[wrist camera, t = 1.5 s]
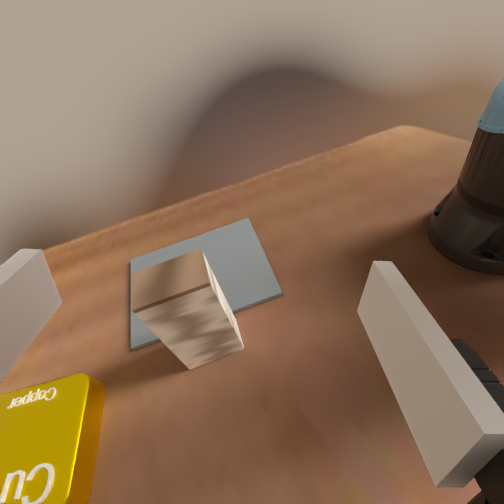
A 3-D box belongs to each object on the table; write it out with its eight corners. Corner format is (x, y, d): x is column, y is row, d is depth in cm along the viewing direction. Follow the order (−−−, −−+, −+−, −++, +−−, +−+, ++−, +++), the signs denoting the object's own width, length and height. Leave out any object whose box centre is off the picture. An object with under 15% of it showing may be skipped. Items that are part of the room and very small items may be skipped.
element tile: (109, 378, 42) (89, 366, 39) (90, 516, 32) (60, 516, 29) (10, 406, 43) (-19, 397, 39) (-40, 552, 32) (-86, 556, 29)
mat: (249, 220, 58) (248, 217, 58) (283, 295, 45) (282, 292, 45) (132, 262, 57) (130, 259, 56) (133, 350, 44) (130, 348, 43)
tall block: (235, 319, 44) (201, 248, 32) (244, 349, 41) (209, 282, 29) (185, 337, 44) (131, 273, 32) (189, 369, 40) (131, 310, 29)
